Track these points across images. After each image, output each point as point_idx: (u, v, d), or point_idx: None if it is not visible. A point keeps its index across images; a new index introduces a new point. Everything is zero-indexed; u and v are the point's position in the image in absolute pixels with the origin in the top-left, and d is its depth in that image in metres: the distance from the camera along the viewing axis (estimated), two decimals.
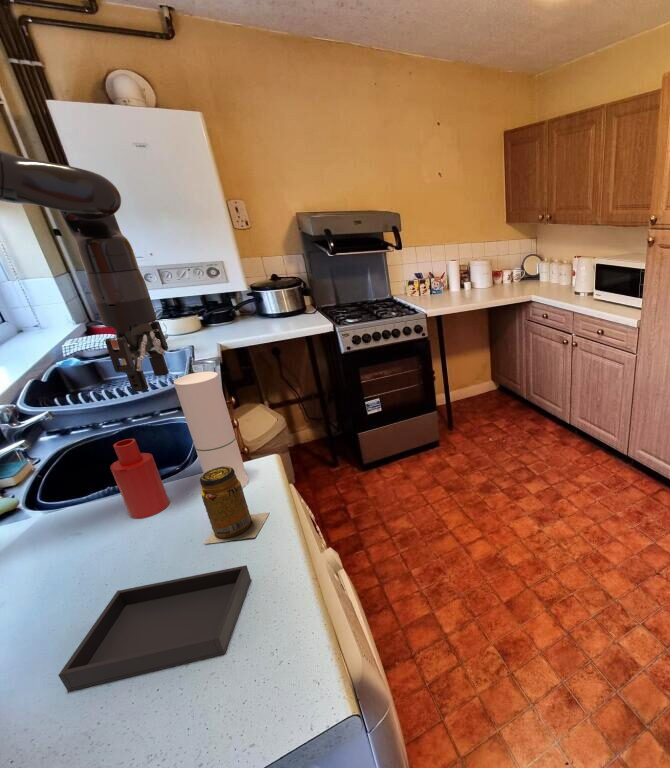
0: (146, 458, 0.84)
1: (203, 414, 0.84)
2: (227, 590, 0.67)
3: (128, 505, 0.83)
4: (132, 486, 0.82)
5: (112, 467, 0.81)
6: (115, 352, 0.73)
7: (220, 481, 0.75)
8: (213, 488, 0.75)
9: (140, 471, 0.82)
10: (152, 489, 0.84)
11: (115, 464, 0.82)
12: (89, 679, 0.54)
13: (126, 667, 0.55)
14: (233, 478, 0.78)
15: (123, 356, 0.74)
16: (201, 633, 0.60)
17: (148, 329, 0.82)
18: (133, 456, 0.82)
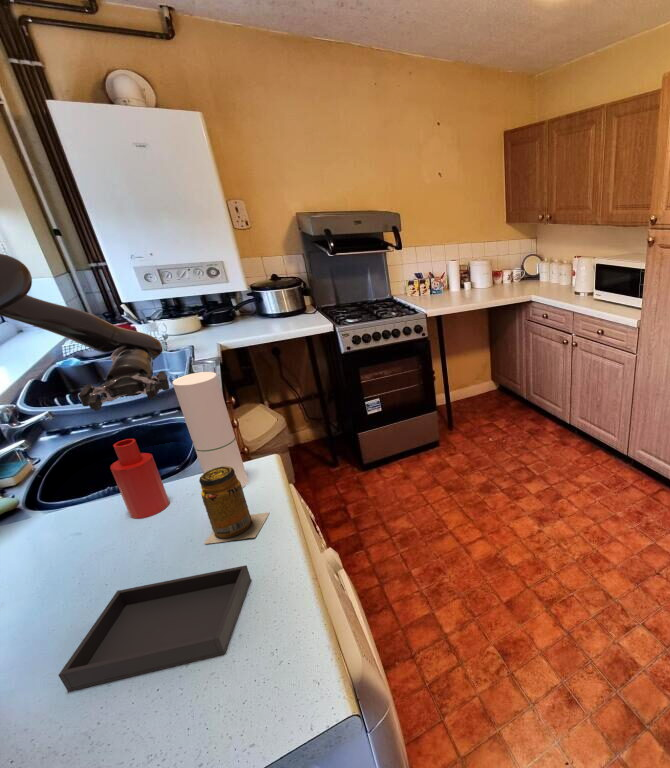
0: (146, 458, 0.84)
1: (202, 414, 0.84)
2: (227, 590, 0.67)
3: (128, 505, 0.83)
4: (132, 486, 0.82)
5: (112, 467, 0.81)
6: (166, 377, 0.97)
7: (220, 481, 0.75)
8: (213, 488, 0.75)
9: (140, 471, 0.82)
10: (152, 489, 0.84)
11: (115, 464, 0.82)
12: (89, 679, 0.54)
13: (126, 667, 0.55)
14: (233, 478, 0.78)
15: (168, 382, 0.97)
16: (201, 633, 0.60)
17: None
18: (133, 456, 0.82)
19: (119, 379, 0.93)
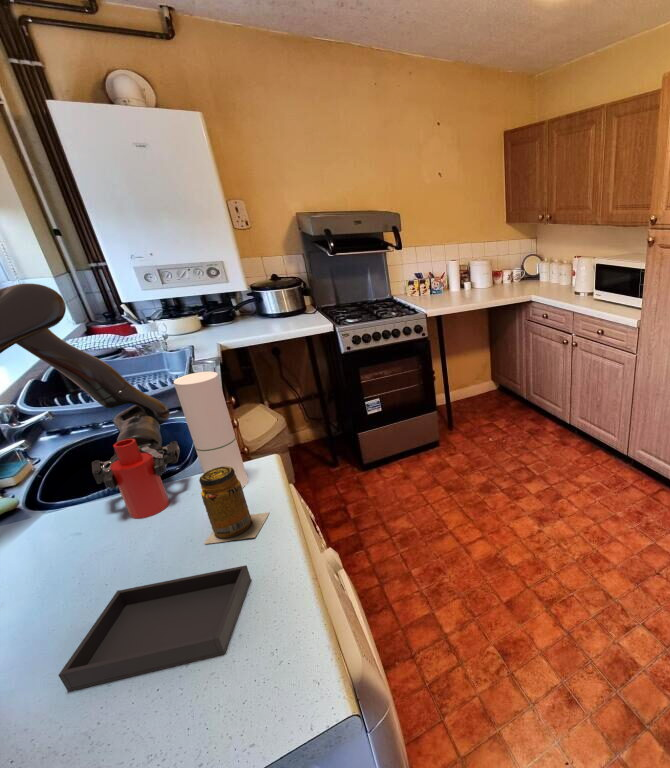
0: (146, 458, 0.84)
1: (203, 414, 0.84)
2: (227, 590, 0.67)
3: (128, 505, 0.83)
4: (132, 486, 0.82)
5: (112, 467, 0.81)
6: (176, 449, 0.92)
7: (220, 481, 0.75)
8: (213, 488, 0.75)
9: (140, 471, 0.82)
10: (152, 489, 0.84)
11: (115, 464, 0.82)
12: (89, 679, 0.54)
13: (126, 667, 0.55)
14: (233, 478, 0.78)
15: (177, 454, 0.92)
16: (201, 633, 0.60)
17: None
18: (133, 456, 0.82)
19: None
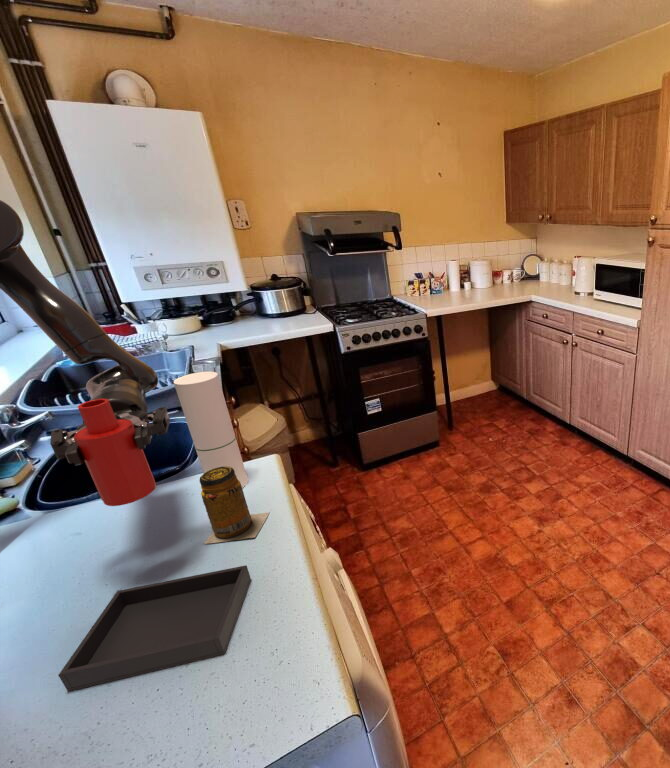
0: (124, 425, 0.63)
1: (203, 414, 0.84)
2: (227, 590, 0.67)
3: (100, 488, 0.62)
4: (104, 462, 0.61)
5: (77, 436, 0.60)
6: (165, 416, 0.71)
7: (220, 481, 0.75)
8: (213, 488, 0.75)
9: (115, 442, 0.61)
10: (132, 467, 0.63)
11: (81, 432, 0.61)
12: (89, 679, 0.54)
13: (126, 667, 0.55)
14: (233, 478, 0.78)
15: (167, 423, 0.70)
16: (201, 633, 0.60)
17: None
18: (106, 421, 0.61)
19: None
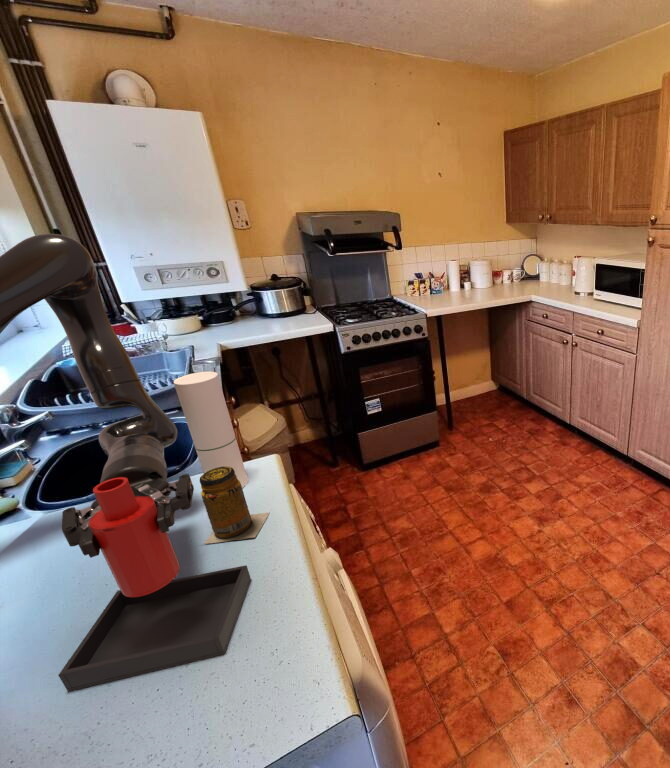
0: (145, 506, 0.55)
1: (203, 414, 0.84)
2: (227, 590, 0.67)
3: (118, 578, 0.55)
4: (123, 551, 0.53)
5: (92, 523, 0.52)
6: (189, 486, 0.63)
7: (220, 481, 0.75)
8: (213, 488, 0.75)
9: (136, 528, 0.53)
10: (154, 553, 0.55)
11: (97, 517, 0.53)
12: (89, 679, 0.54)
13: (126, 667, 0.55)
14: (233, 478, 0.78)
15: (191, 494, 0.63)
16: (201, 633, 0.60)
17: None
18: (125, 505, 0.53)
19: None
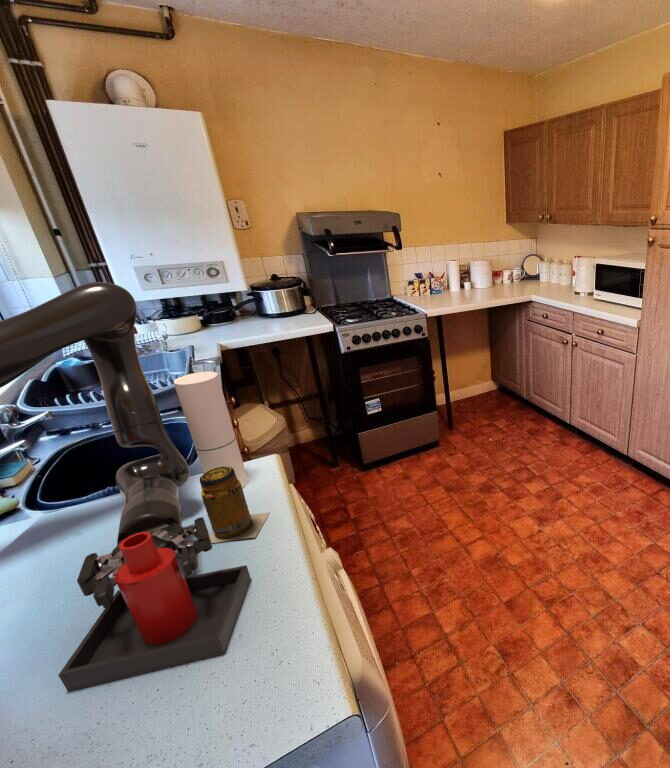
0: (166, 559, 0.58)
1: (203, 414, 0.84)
2: (227, 590, 0.67)
3: (140, 628, 0.58)
4: (147, 603, 0.56)
5: (118, 577, 0.56)
6: None
7: (220, 481, 0.75)
8: (213, 488, 0.75)
9: (158, 581, 0.56)
10: (175, 603, 0.59)
11: (122, 571, 0.56)
12: (89, 679, 0.54)
13: (126, 667, 0.55)
14: (233, 478, 0.78)
15: None
16: (201, 633, 0.60)
17: None
18: (148, 559, 0.56)
19: None
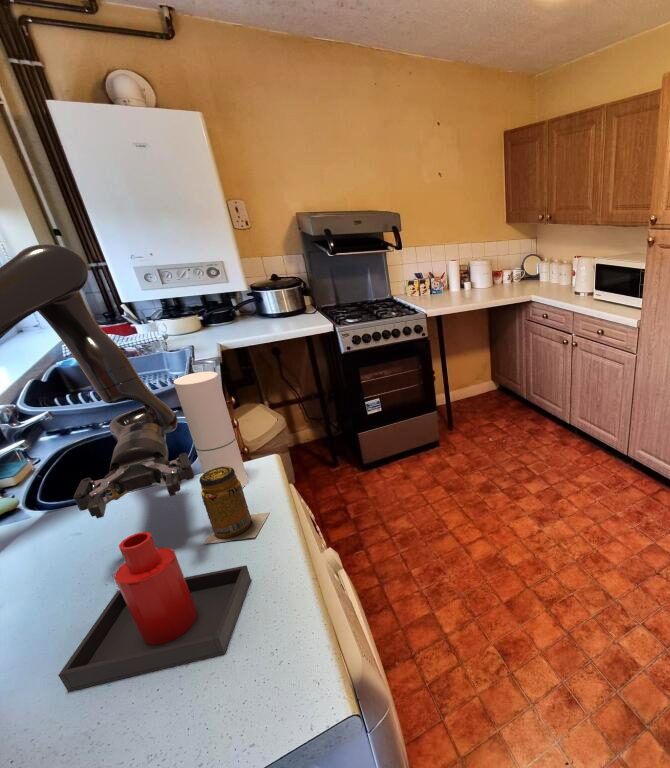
0: (166, 559, 0.58)
1: (203, 414, 0.84)
2: (227, 590, 0.67)
3: (140, 628, 0.58)
4: (147, 603, 0.56)
5: (118, 577, 0.56)
6: (189, 462, 0.75)
7: (220, 481, 0.75)
8: (213, 488, 0.75)
9: (158, 581, 0.56)
10: (175, 603, 0.59)
11: (122, 571, 0.56)
12: (89, 679, 0.54)
13: (126, 667, 0.55)
14: (233, 478, 0.78)
15: (191, 468, 0.74)
16: (201, 633, 0.60)
17: None
18: (148, 559, 0.56)
19: (128, 468, 0.70)
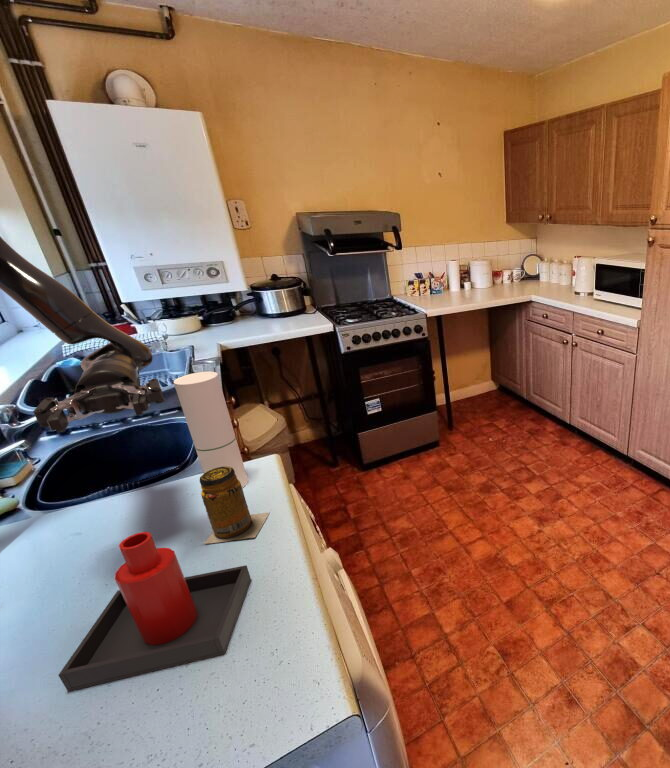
0: (166, 559, 0.58)
1: (203, 414, 0.84)
2: (227, 590, 0.67)
3: (140, 628, 0.58)
4: (147, 603, 0.56)
5: (118, 577, 0.56)
6: None
7: (220, 481, 0.75)
8: (213, 488, 0.75)
9: (158, 581, 0.56)
10: (175, 603, 0.59)
11: (122, 571, 0.56)
12: (89, 679, 0.54)
13: (126, 667, 0.55)
14: (233, 478, 0.78)
15: (162, 393, 0.71)
16: (201, 633, 0.60)
17: None
18: (148, 559, 0.56)
19: (94, 389, 0.67)
